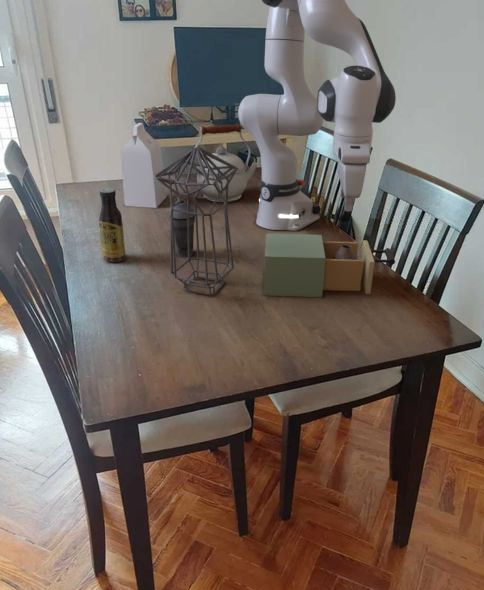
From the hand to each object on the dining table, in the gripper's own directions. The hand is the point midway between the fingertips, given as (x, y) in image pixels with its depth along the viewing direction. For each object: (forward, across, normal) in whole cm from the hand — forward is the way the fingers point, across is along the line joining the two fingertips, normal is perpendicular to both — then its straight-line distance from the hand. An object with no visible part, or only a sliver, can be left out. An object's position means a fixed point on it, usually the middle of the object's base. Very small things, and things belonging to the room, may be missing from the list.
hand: (346, 203), depth 135 cm
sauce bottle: (+22, -10, -62) cm, 67 cm away
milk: (+23, -60, -64) cm, 90 cm away
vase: (+20, +2, +1) cm, 20 cm away
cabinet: (+21, +2, -12) cm, 25 cm away
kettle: (+23, -68, -35) cm, 80 cm away
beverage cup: (+22, -15, -43) cm, 51 cm away
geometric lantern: (+21, +5, -36) cm, 42 cm away
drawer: (+20, +2, +3) cm, 21 cm away
